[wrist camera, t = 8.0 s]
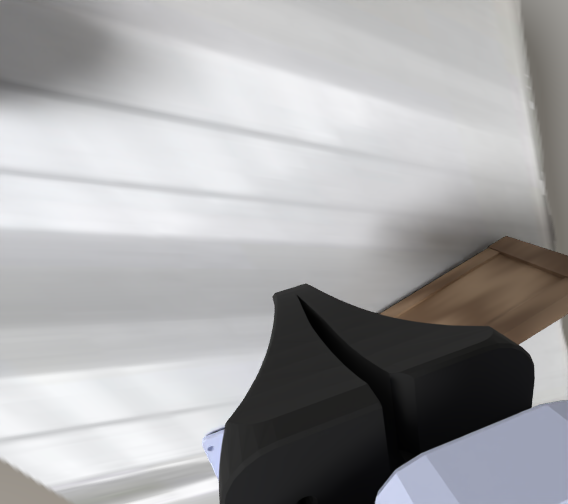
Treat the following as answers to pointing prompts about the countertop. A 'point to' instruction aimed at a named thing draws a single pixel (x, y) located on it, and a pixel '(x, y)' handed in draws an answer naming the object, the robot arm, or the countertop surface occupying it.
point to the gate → (495, 291)
